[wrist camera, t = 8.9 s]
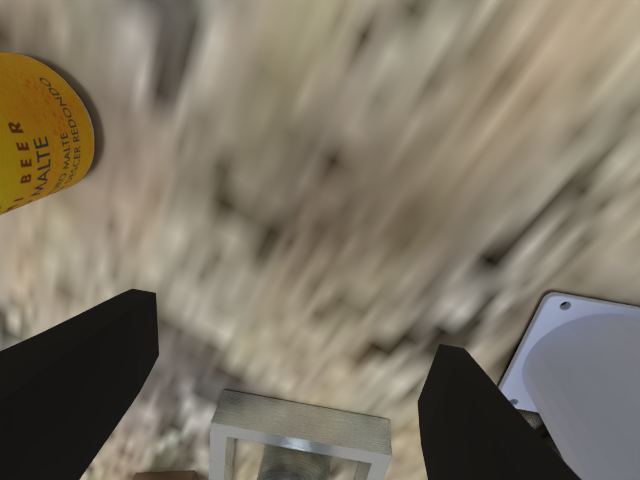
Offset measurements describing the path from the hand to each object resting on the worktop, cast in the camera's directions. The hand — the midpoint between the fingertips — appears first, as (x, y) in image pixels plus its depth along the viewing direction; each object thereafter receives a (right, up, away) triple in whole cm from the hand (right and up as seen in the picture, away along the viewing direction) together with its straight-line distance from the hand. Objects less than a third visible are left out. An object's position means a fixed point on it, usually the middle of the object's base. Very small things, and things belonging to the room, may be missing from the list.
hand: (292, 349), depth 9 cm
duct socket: (-1, -13, +17) cm, 21 cm away
